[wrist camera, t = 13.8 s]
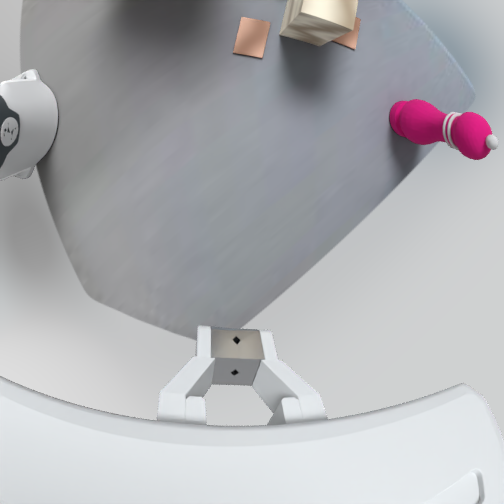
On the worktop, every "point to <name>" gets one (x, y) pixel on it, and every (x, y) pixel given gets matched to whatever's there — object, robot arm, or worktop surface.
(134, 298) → the worktop surface
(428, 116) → the pepper mill
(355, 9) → the maple block
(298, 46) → the worktop surface
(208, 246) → the worktop surface
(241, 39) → the trap course
